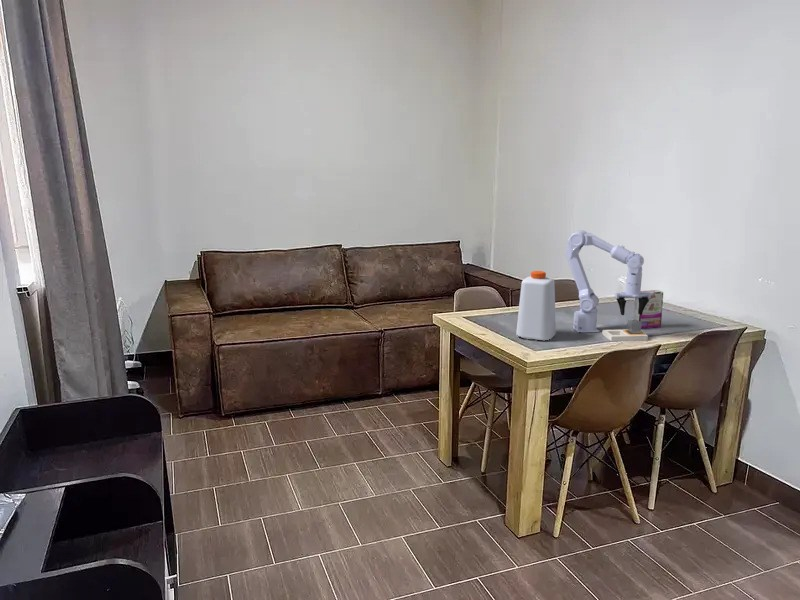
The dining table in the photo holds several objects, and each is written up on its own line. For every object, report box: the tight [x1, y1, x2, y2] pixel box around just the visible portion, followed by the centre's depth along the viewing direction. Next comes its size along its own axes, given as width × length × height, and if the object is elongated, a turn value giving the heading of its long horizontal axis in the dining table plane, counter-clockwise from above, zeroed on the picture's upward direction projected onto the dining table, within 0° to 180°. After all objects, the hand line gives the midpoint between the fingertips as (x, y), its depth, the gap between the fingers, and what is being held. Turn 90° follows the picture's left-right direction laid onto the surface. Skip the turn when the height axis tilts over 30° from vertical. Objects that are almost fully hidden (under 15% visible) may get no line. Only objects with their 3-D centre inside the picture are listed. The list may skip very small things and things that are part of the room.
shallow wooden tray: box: [601, 328, 649, 342], centre depth 254 cm, size 15×10×2 cm, turn 92°
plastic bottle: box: [515, 270, 557, 341], centre depth 255 cm, size 15×15×28 cm
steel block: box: [627, 319, 642, 334], centre depth 254 cm, size 4×4×7 cm
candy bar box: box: [633, 289, 664, 330], centre depth 268 cm, size 11×5×16 cm, turn 101°
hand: (631, 314), depth 255 cm, fingers open, 7 cm apart
